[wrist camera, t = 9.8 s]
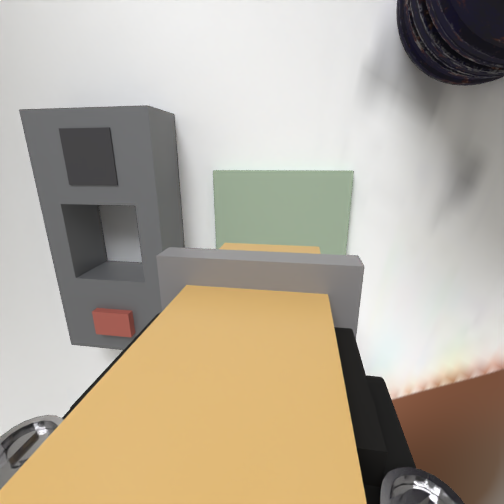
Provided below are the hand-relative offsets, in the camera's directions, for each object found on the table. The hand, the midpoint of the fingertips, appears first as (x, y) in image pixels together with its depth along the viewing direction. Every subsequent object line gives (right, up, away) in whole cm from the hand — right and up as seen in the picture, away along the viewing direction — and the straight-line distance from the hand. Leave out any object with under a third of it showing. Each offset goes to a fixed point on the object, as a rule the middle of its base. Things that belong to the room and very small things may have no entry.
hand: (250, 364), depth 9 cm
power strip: (-10, +5, +16) cm, 20 cm away
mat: (+2, +5, +14) cm, 15 cm away
